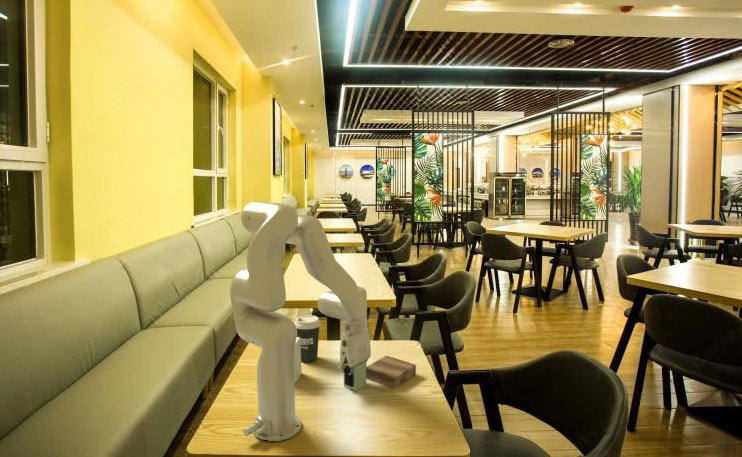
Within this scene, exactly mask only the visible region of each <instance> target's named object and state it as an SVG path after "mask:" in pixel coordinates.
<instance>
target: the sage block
mask: <svg viewBox="0 0 742 457" xmlns="http://www.w3.org/2000/svg"><path fill="white" fill-rule="evenodd" d="M366 364H367V362H366V361H364V362H362V363H360V364H358V365H356V366H354V367H353V372H352V374H353V376H354V386H353V387H350V386H348V385H345V373H343V387H344V388H347V389H349V390H351V391H355V392H357V391H359V390H360V389H362V388H364V387H365V386H367V379H366V367H367V365H366ZM349 367H350V366H348V367H347V368H348V369H349Z"/></svg>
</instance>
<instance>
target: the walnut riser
mask: <svg viewBox="0 0 742 457" xmlns="http://www.w3.org/2000/svg"><path fill="white" fill-rule="evenodd" d="M416 371H417V364H414V363H411V362H409V361H405V360H402V359H398V358H396V357H392V356H389V355H385V356H384V357H381V358H380V359H379V358H378V360H376V361H374V362H372V363H370V364H368V365H366V380H369V381H371V382H374V383H377V384H380V385H383V386H386V387H388V388H391V389H393V390H396V388H397V389H398V387H400V386H401V385H403V384H405V383H406V382H407V381H409V380H411V379H412V378H413V377H416V376H417V374H416V373H417V372H416Z"/></svg>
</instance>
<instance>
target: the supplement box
mask: <svg viewBox="0 0 742 457" xmlns="http://www.w3.org/2000/svg"><path fill="white" fill-rule="evenodd" d="M301 375H302V362H301V348H300V337H297V338H296V344H295V350H294V384H295V383H297V382H298V380H299V378H300V376H301Z"/></svg>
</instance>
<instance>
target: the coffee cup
mask: <svg viewBox="0 0 742 457" xmlns="http://www.w3.org/2000/svg"><path fill="white" fill-rule="evenodd" d="M293 322H294V324H295V325H296V328H297V337H300V348H301V364H303V363H304V364H310V363H315V362H316V361H317V360H318V352H319V351H318V350H319V338H320V326H321V325H322V323H321V320H320V319H319V317H318V315H317V316H316V315H312V314H309V315H308V314H305V315H300V316H298V317H296V318H295V320H294V321H293Z"/></svg>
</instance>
